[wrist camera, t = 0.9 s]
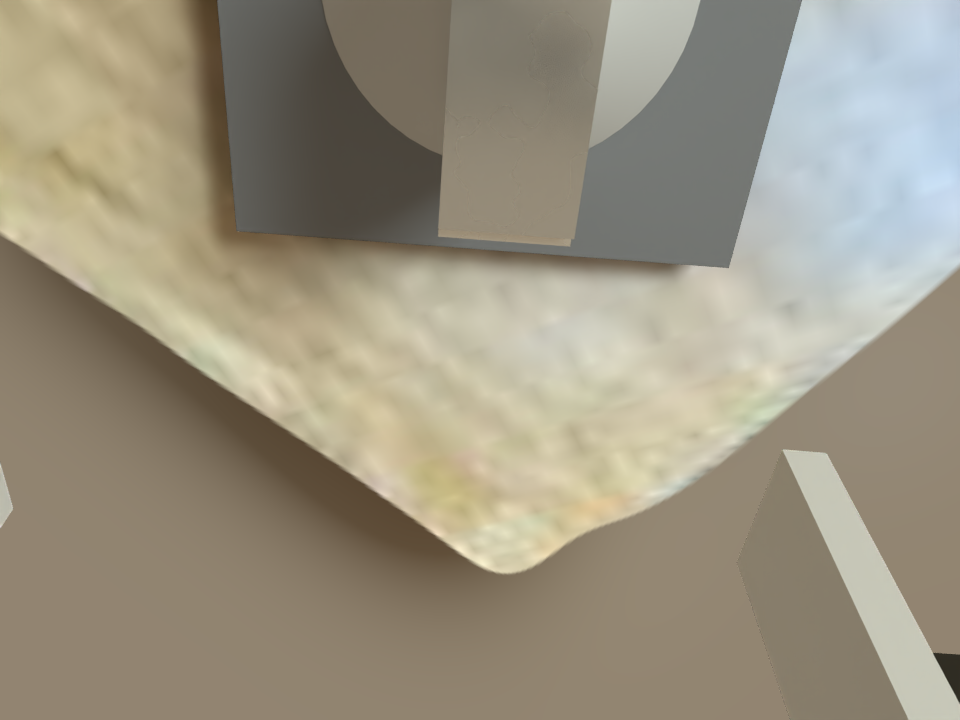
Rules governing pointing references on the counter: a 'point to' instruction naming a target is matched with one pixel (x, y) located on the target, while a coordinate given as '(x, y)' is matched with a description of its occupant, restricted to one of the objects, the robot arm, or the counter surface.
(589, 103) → the dial handle
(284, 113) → the dial plate
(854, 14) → the counter surface
